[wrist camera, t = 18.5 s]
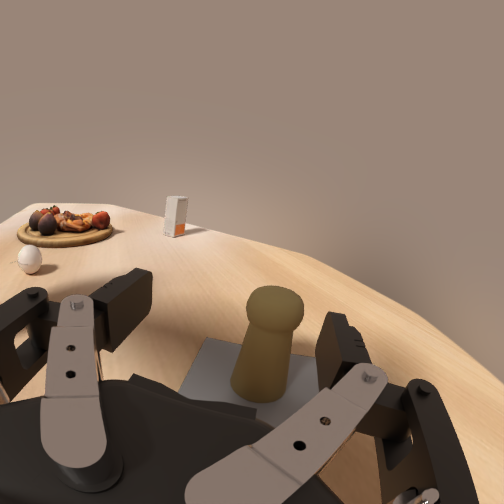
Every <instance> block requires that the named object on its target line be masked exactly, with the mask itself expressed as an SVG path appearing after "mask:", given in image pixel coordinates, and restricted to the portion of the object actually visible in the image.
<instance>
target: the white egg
mask: <svg viewBox="0 0 504 504" xmlns="http://www.w3.org/2000/svg"><path fill="white" fill-rule="evenodd" d="M15 262H16V261H15ZM12 263H13V262H12ZM18 264H19V267H20V268H21V270H22V271H24V272H25V273H28V274H33V273H35V272H37V271H38V270H39V268H40V267H41V264H42V256H41V252H40V251H39V249H38V248H37V247H36V246H33V245H26V246H24V247H23V248H22V249H21V250H20V252H19V254H18Z"/></svg>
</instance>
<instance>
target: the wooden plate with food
mask: <svg viewBox="0 0 504 504" xmlns="http://www.w3.org/2000/svg"><path fill="white" fill-rule="evenodd" d="M112 231H113V227H112V225H111V224H110V216H109V215H108V213H107V212H104V211H101V212H97V213H96V215H93V214H90V213H83V214H82V215H81V214H80V215H78V214H72V213H70V212H69V211H64V213H61V214H60V210H59V208H58V207H56V206H55V205H54V206H53V207H50V209H48V208H46V209H42V211H40V212H39V211H38V210H36V211H35V212H34V213H33V214H32V215H31V217H30V219H29V223H26V224H24V225H23V226H21V227H20V228H19V229H18V232H17V237H18V239H19V240H20V241H21V242H23V243H25V244H27V245H33V246H36V247H45V248H63V247H74V246H81V245H86V244H91V243H95V242H98V241H100V240H103V239H105V238H107V237H108V236H110V234H111V233H112Z"/></svg>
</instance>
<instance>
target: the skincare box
mask: <svg viewBox="0 0 504 504" xmlns="http://www.w3.org/2000/svg"><path fill="white" fill-rule="evenodd" d="M187 204H188V197H183V196H171V197H170V196H168V197H167V201H166V211H165V221H164V232H163V235H166V236H170V237H176V236H180V235H184V231H185V222H186V213H187Z"/></svg>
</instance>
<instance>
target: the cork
mask: <svg viewBox="0 0 504 504" xmlns="http://www.w3.org/2000/svg"><path fill="white" fill-rule="evenodd" d="M246 311H247V317H248V320H249V321H250V323H249V326H248V329H247V332H246V335H245V338H244V341H243V344H242V347H241V350H240V353H239V356H238V358H237V361H236V364H235V367H234V370H233V373H232V376H231V379H230V383H231V387H232V389H233V390H234V392H235V393H236V394H238V395H239V396H240V397H241V398H243V399H246V400H248V401H251V402H255V403H270V402H274V401H276V400H278V399H280V398H281V397H282V396H283V395H284V393H285V392H286V385H287V378H288V370H289V362H290V354H291V346H292V337H293V331H294V330H295V329H296V328H297V327H298V326H299V325H300V323H301V321H302V319H303V316H304V304H303V301H302V299H301V297H300V296H299V295H298V294H296V293H295V292H294V291H292V290H290V289H287V288H284V287H279V286H263V287H259V288H257V289H255V290H254V291H253V292H252V293H251V295H250V297H249V299H248V301H247V306H246Z"/></svg>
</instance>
